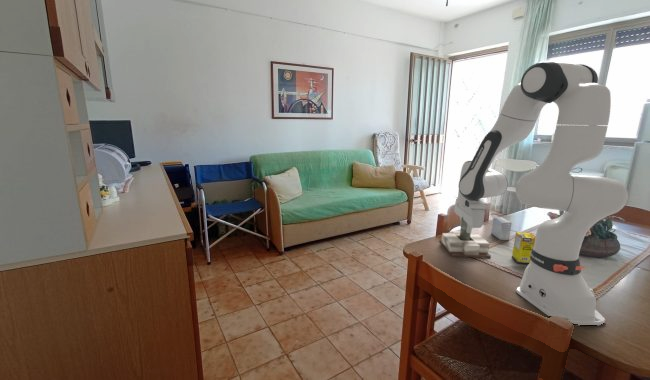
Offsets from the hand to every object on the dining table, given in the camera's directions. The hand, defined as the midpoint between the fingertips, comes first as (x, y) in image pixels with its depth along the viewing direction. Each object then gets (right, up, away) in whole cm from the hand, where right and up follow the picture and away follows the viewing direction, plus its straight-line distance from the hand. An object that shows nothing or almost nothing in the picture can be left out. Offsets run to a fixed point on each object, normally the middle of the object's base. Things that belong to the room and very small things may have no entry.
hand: (465, 230), depth 126 cm
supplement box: (+18, -11, -9) cm, 23 cm away
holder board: (0, -8, +2) cm, 9 cm away
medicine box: (+24, -6, +15) cm, 29 cm away
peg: (0, -4, +1) cm, 4 cm away
